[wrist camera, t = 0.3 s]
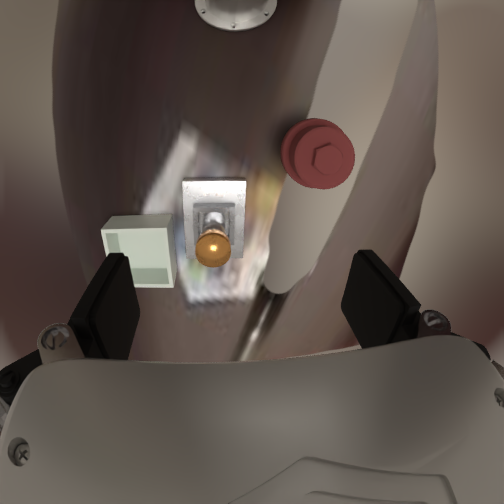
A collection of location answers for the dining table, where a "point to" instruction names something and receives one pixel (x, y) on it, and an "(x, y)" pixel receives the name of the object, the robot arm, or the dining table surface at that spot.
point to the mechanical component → (317, 154)
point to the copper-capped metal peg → (213, 241)
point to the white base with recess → (214, 209)
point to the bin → (144, 247)
